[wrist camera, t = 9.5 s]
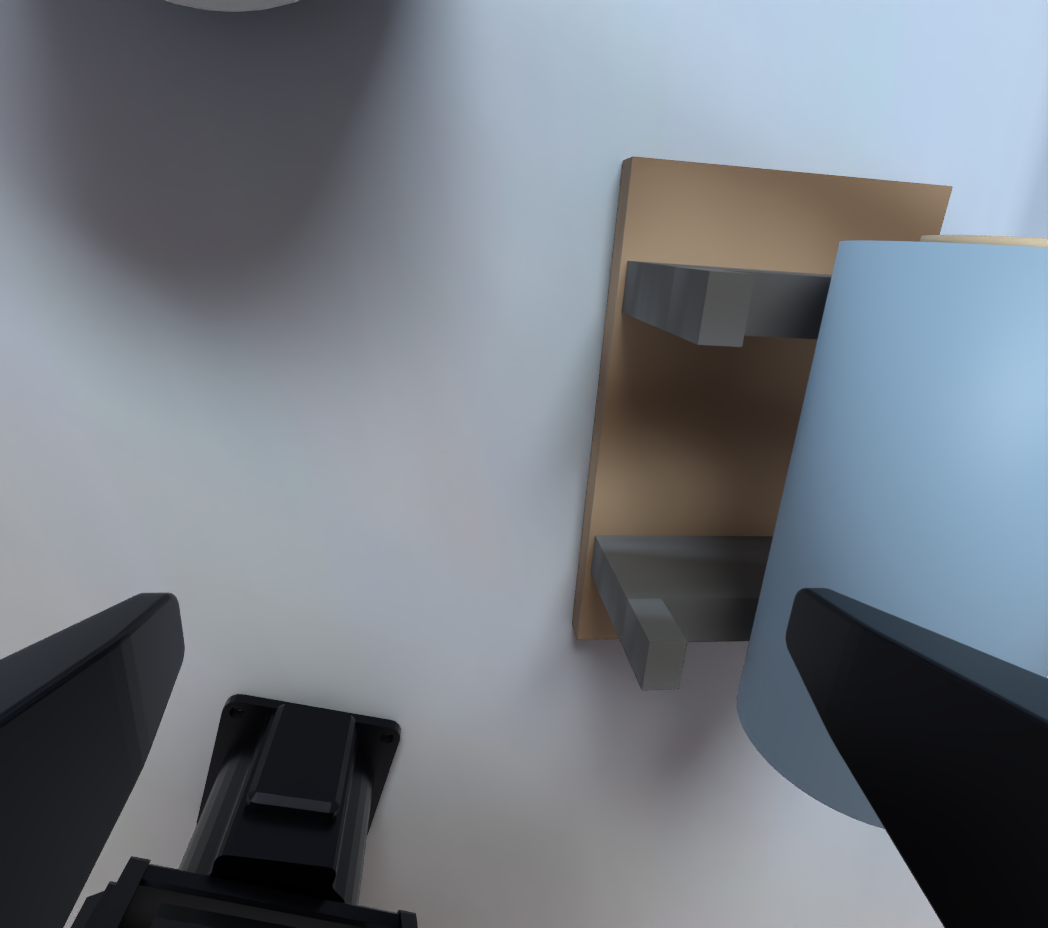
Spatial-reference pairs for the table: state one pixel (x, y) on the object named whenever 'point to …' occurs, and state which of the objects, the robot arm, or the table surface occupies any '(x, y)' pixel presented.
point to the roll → (912, 475)
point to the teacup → (232, 4)
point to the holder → (710, 389)
